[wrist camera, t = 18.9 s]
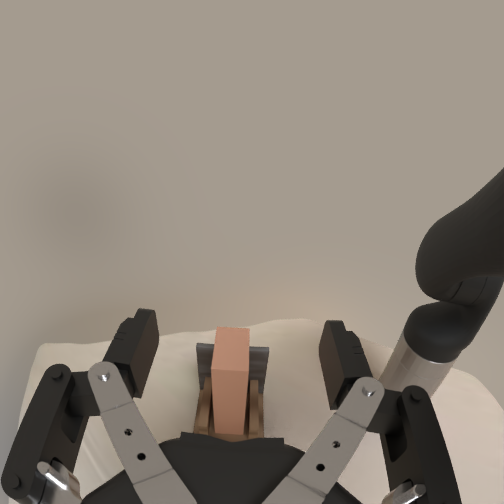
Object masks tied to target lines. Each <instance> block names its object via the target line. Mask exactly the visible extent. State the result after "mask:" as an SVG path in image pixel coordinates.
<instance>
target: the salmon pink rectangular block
mask: <svg viewBox="0 0 504 504" xmlns="http://www.w3.org/2000/svg"><path fill="white" fill-rule="evenodd" d="M248 375H249V329H246V328H229V327H217V331H216V338H215V345H214V352H213V359H212V366H211V377H212V395H213V411H214V426H215V433H220V434H236V435H243V431H244V420H245V409H246V397H247V386H248Z"/></svg>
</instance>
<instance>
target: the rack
mask: <svg viewBox="0 0 504 504" xmlns="http://www.w3.org/2000/svg"><path fill="white" fill-rule="evenodd" d="M214 345H215V344H204V343H197V345H196V351H197V362H198V373H199V383H200V393H199V400H198V406H197V413H196V419H195V426H194V433H196V434H205V435H209V436H212V437H215V438H219V439H222V440H226V441H229V442H237V441H243V440H249V439H254V438H264V424H263V389H264V383H265V376H266V370H267V363H268V356H269V347H249V375H248V386H247V397H246V409H245V420H244V431H243V435H236V434H220V433H215V426H214V411H213V395H212V377H211V366H212V359H213V352H214Z"/></svg>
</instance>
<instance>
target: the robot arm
mask: <svg viewBox="0 0 504 504" xmlns="http://www.w3.org/2000/svg"><path fill="white" fill-rule="evenodd" d="M415 270H416V278H417V282H418V284H419V287H420V288H421V289H422V291H423V292H424V293H425V294H426V295H428V296H429V297H432V298H433V299H436V300H439V302H435V303H431V304H426V305H422V306H420V307H418V308H416V309H415V310H414V311H413V312H412V313H411V314H410V316H409V318H408V320H407V322H406V325H405V327H404V329H403V331H402V334H401V336H400V338H399V340H398V343H397V345H396V347H395V349H394V351H393V353H392V355H391V357H390V359H389V361H388V363H387V365H386V367H385V369H384V371H383V373H382V375H381V377H380V379H379V381H378V380H377V379H375V378H373V376H372V373H371V370H370V368H369V365H368V362H367V359H366V357H365V354H364V351H363V348H362V346H361V343H360V340H359V338H358V337H357V336H356V335H355V334H354V333H353V332H352V331H346V329H345V326H344V323H343V321H337V320H336V321H335V320H332V321H330V320H327V321H326V322H325V326H324V329H323V333H322V337H321V340H320V344H319V358H320V362H321V367H322V372H323V376H324V381H325V386H326V391H327V396H328V401H329V406H330V410H337V409H338V410H337V412H336V413H334V414H333V416H332V417H331V419H330V420H329V421H328V423H327V424H326V426H325V427H324V429H323V430H322V431H321V433H320V434H319V436H318V437H317V438H316V440H315V441H314V442H313V444H312V445H311V446H310V448H309V449H308V450H307V452H306V453H305V452H303V451H301V450H300V449H297V448H295V447H293V446H289V445H285V444H284V438H254V439H249V440H243V441H237V442H229V441H226V440H222V439H219V438H215V437H212V436H209V435H205V434H196V433H187V432H181V436H180V438H176V439H171V440H168V441H165V442H162V443H160V444H157V442H156V440H155V439H154V437H153V435H152V434H151V432H150V430H149V428H148V427H147V425H146V423H145V421H144V419H143V417H142V416H141V414H140V412H139V410H138V408H137V406H136V404H135V402H134V401H133V397H136V398H141V397H142V394H143V391H144V387H145V384H146V381H147V378H148V375H149V372H150V369H151V366H152V363H153V360H154V357H155V354H156V351H157V348H158V344H159V332H158V326H157V319H156V313H155V311H154V310H149V309H140V308H139V309H138V310H137V312H136V314H135V316H134V318H127V319H126V320H125V321H124V322H123V323H121V324H120V326H119V329H118V330H117V333H116V334H115V336H114V339H113V340H112V342H111V344H110V346H109V348H108V350H107V352H106V354H105V356H104V359H103V361H102V362H99V363H96V364H94V365H93V366H92V367H91V368H90V369H89V371H85V372H71V371H70V369H69V367H67V366H66V365H64V364H55V365H52V366H50V367H49V368H48V369H47V370H46V371H45V373H44V375H43V377H42V379H41V381H40V383H39V385H38V387H37V389H36V391H35V393H34V396H33V398H32V400H31V402H30V404H29V407H28V409H27V411H26V413H25V416H24V418H23V420H22V423H21V425H20V427H19V430H18V432H17V435H16V437H15V440H14V442H13V445H12V448H11V451H10V453H9V456H8V459H7V461H6V464H5V467H4V470H3V474H2V477H1V484H2V488H3V490H4V492H5V493H6V494H7V495H8V496H9V497H11V498H12V499H14V500H15V501H17V502H18V503H20V504H362V503H361V502H360V501H359V500H357V499H356V498H355V497H354V496H353V495H352V494H350V493H349V492H348V491H347V490H346V489H345V488H344V487H342V486H341V485H340V484H339V483H338V482H337V479H338V478H339V476H340V475H341V473H342V472H343V470H344V469H345V467H346V465H347V464H348V462H349V461H350V459H351V457H352V456H353V454H354V452H355V451H356V449H357V447H358V445H359V444H360V442H361V440H362V438H363V437H364V435H365V433H366V431H368V432H374V433H379V434H380V439H381V444H382V449H383V454H384V459H385V464H386V470H387V476H388V482H389V488H390V493H388V494H387V495H386V496H385V497H384V499H383V501H382V504H462V502H461V498H460V494H459V490H458V486H457V482H456V478H455V474H454V471H453V467H452V463H451V460H450V457H449V453H448V450H447V447H446V444H445V441H444V437H443V434H442V431H441V428H440V425H439V422H438V420H437V417H436V414H435V411H434V408H433V406H432V403H431V400H430V398H431V397H432V396H433V394H434V393H435V391H436V390H437V389H438V387H439V386H440V384H441V383H442V381H443V380H444V378H445V377H446V375H447V374H448V372H449V370H450V369H451V367H452V366H453V364H454V363H455V361H456V359H457V358H458V356H459V354H460V353H461V351H462V350H463V349H465V348H466V347H467V346H468V345H469V344H470V343H471V342H472V340H473V339H474V337H475V335H476V334H477V332H478V331H479V329H480V327H481V326H482V324H483V322H484V321H485V319H486V317H487V316H488V313H489V312H490V310H491V308H492V307H493V305H494V303H495V301H496V299H497V297H498V295H499V292H500V290H501V287H502V285H503V282H504V168H503V169H502V170H501V171H500V172H499V173H498V174H497V175H496V176H495V177H494V178H493V179H492V180H491V181H490V182H488V183H487V184H486V185H485V186H484V187H483V188H482V189H481V190H480V191H479V192H478V193H476V194H475V195H474V196H473V197H472V198H471V199H469V200H468V201H467V202H465V203H464V204H462V205H461V206H459V207H458V208H456V209H455V210H453V211H452V212H450V213H449V214H447V215H445V216H444V217H442V218H441V219H439V220H438V221H437V222H436V223H435V224H434V225H433V226H432V227H431V228H430V229H429V231H428V232H427V234H426V235H425V237H424V239H423V241H422V243H421V245H420V247H419V250H418V253H417V258H416V266H415ZM89 416H101V418H102V420H103V423H104V425H105V428H106V430H107V432H108V435H109V437H110V439H111V441H112V444H113V446H114V448H115V450H116V452H117V454H118V456H119V458H120V460H121V462H122V464H123V466H124V468H125V469H124V470H123V471H121V472H120V473H118V474H117V475H116V476H114V477H113V478H111V479H110V480H109V481H107V482H106V483H104V484H103V485H101V486H100V487H98V488H97V489H95V490H94V491H92V492H91V493H89V494H88V495H87V496H86V497H85V498H84V499H83V500H82V498H81V496H80V484H79V481H78V479H77V478H76V477H75V476H74V475H73V471H74V467H75V463H76V460H77V456H78V452H79V449H80V445H81V442H82V439H83V435H84V432H85V429H86V425H87V422H88V419H89Z"/></svg>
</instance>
